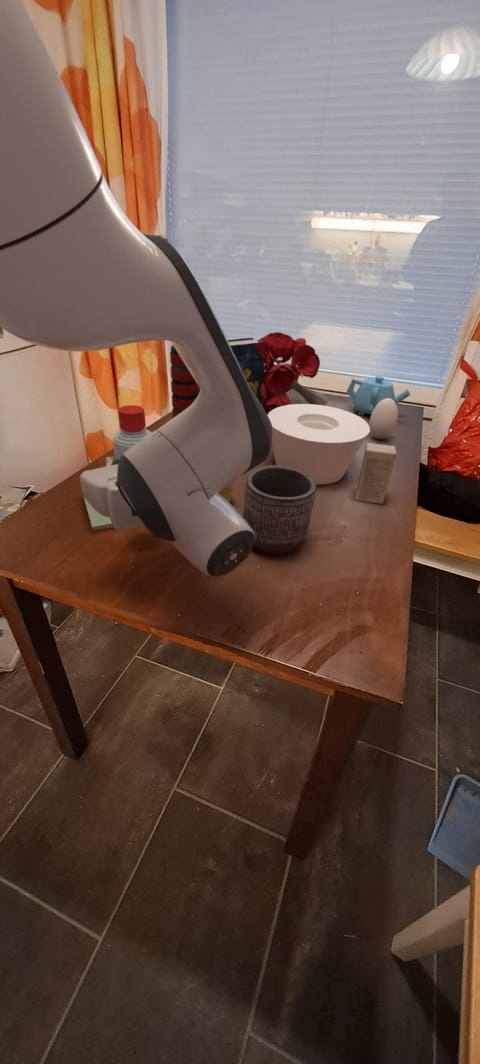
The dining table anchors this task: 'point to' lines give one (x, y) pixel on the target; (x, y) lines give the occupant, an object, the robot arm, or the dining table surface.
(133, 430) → the cap
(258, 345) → the book
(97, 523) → the mat
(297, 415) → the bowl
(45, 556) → the dining table surface
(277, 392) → the bouquet
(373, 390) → the teapot
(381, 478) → the cosmetic box
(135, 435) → the bottle
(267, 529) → the planter
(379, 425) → the egg
